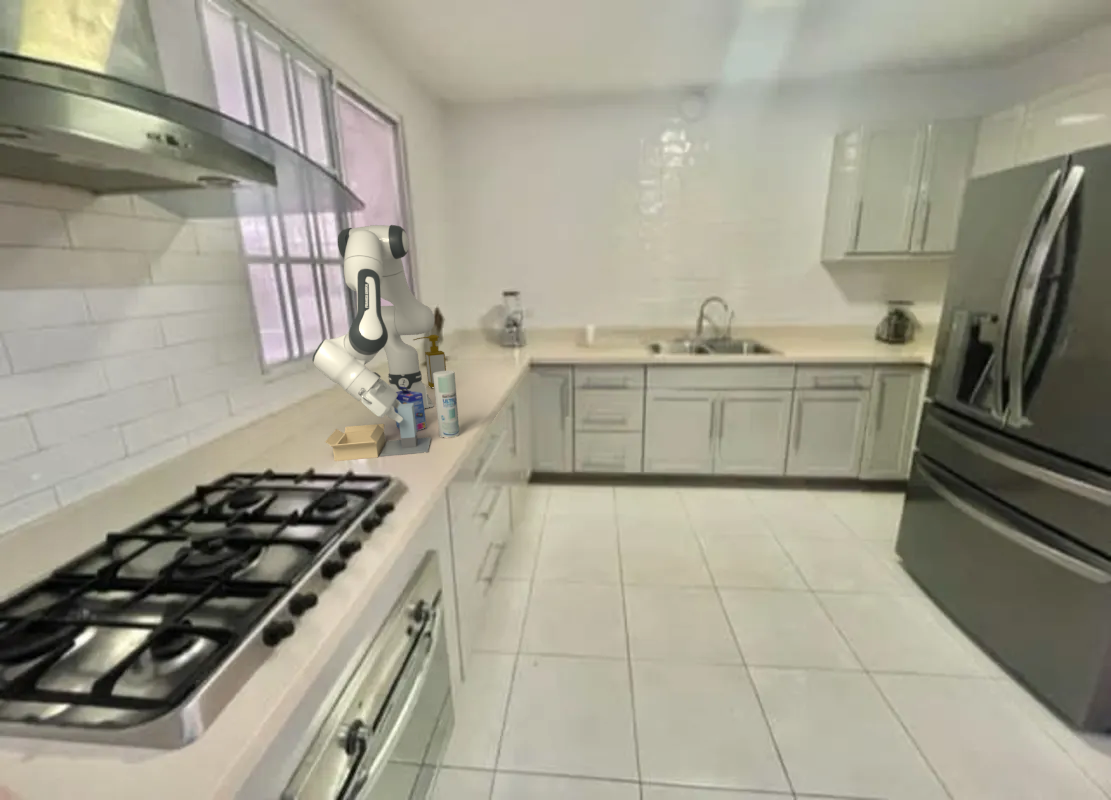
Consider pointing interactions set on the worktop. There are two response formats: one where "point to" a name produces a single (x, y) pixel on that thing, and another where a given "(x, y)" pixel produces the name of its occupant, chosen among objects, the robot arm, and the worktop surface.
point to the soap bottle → (434, 359)
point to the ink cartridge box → (417, 399)
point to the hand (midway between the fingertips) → (403, 416)
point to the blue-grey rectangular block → (408, 425)
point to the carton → (357, 442)
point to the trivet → (396, 448)
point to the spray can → (446, 403)
